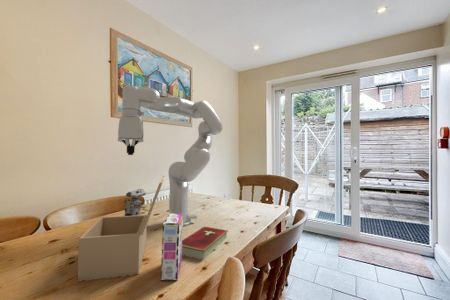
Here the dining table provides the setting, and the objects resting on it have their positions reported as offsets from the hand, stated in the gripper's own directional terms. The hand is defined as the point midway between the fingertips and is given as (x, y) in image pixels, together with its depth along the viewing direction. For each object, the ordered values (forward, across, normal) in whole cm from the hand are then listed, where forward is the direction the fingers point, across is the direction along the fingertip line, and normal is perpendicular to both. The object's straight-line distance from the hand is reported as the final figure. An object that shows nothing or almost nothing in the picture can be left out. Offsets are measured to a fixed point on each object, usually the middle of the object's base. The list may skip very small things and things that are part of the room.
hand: (130, 154), depth 96 cm
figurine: (+35, +1, -25) cm, 43 cm away
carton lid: (+15, -12, +25) cm, 32 cm away
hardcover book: (+36, -31, +19) cm, 51 cm away
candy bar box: (+35, -19, +35) cm, 53 cm away
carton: (+35, -1, +25) cm, 43 cm away
